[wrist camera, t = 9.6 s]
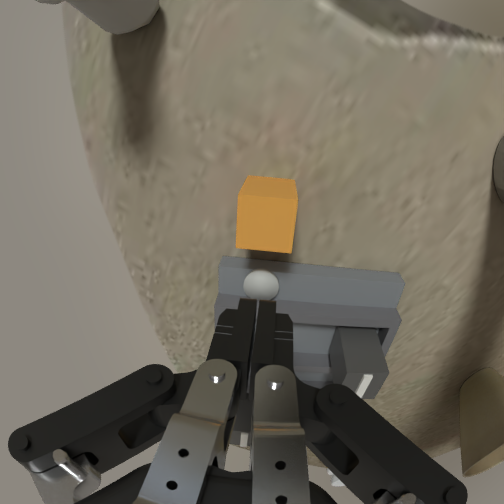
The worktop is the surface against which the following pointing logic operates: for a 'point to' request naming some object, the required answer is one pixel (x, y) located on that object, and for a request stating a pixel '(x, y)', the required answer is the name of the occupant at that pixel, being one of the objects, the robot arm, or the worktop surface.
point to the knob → (358, 360)
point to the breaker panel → (314, 305)
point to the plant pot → (482, 422)
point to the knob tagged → (243, 424)
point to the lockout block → (266, 214)
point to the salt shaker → (115, 13)
